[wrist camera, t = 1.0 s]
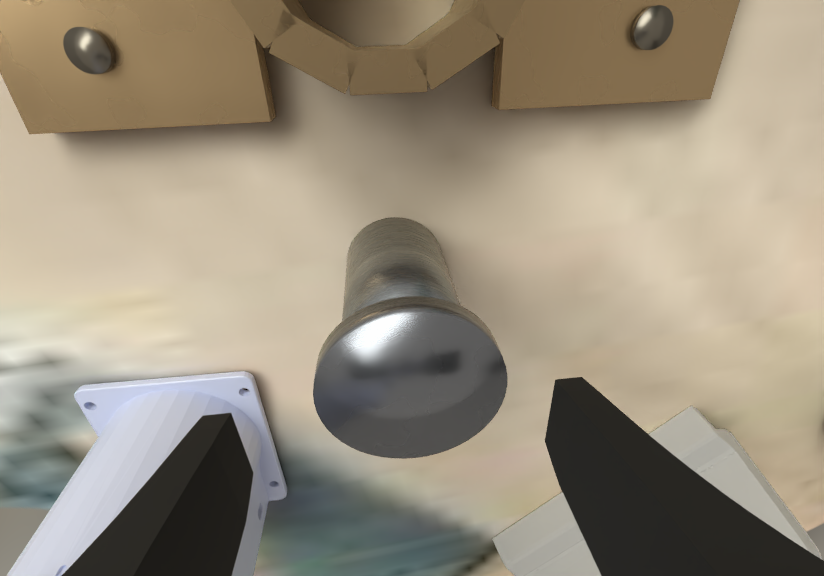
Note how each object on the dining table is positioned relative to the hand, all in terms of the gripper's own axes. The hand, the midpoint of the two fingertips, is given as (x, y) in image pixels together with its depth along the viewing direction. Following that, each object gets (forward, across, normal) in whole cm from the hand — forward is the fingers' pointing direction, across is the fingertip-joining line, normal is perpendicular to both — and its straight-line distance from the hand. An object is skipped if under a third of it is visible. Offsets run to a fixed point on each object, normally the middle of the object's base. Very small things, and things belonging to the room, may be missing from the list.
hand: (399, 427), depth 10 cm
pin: (+9, 0, +1) cm, 9 cm away
